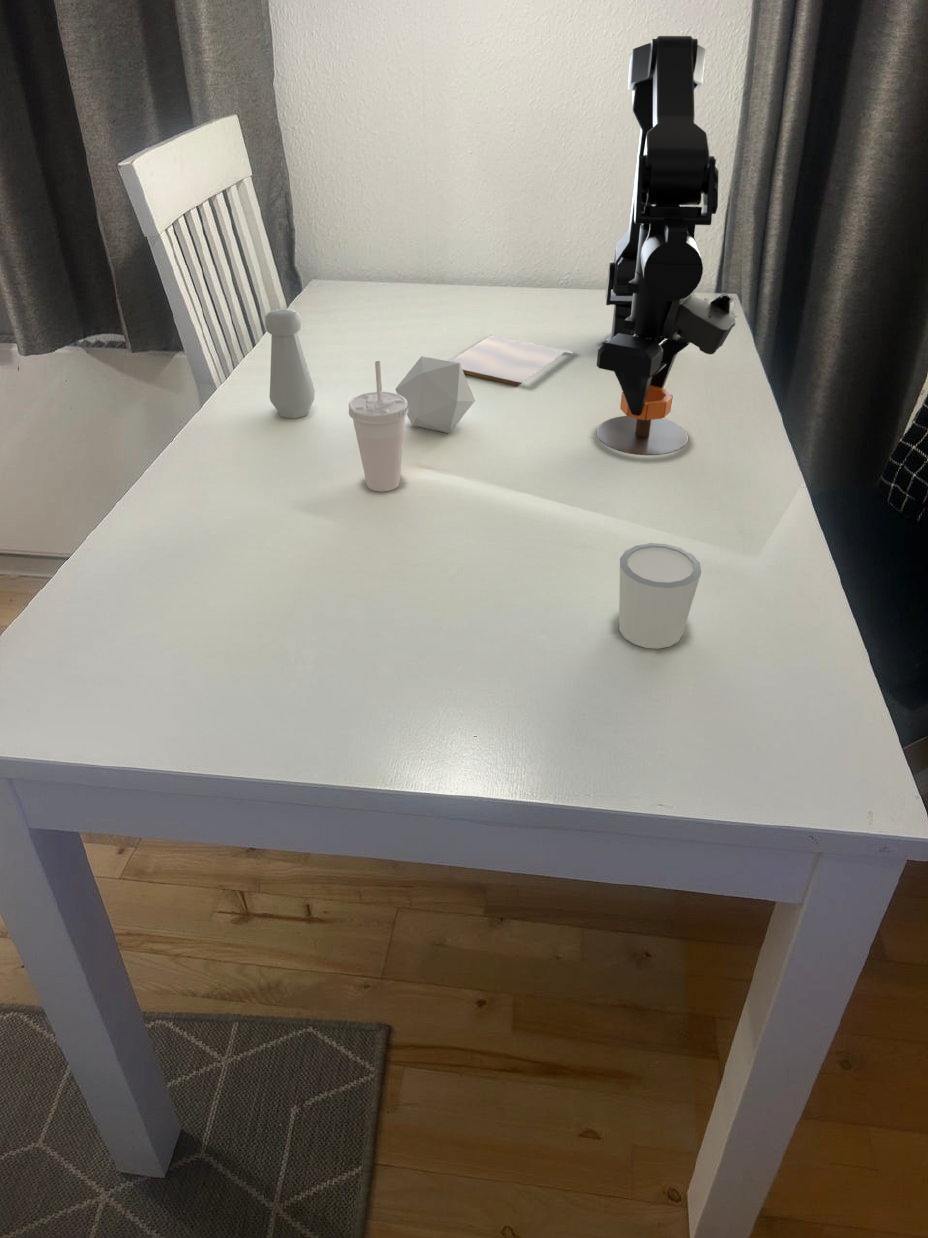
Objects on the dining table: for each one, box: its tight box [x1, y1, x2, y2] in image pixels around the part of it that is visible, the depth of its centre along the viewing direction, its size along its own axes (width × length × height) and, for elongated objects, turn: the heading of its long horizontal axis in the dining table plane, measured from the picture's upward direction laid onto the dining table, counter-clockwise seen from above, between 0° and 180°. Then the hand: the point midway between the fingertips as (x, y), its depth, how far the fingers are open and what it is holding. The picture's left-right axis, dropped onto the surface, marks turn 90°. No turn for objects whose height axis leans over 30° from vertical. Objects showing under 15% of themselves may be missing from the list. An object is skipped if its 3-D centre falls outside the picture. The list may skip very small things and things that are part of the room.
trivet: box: [449, 334, 575, 387], centre depth 132 cm, size 14×14×1 cm
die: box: [395, 356, 476, 434], centre depth 113 cm, size 8×9×10 cm
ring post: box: [596, 415, 689, 456], centre depth 110 cm, size 11×11×4 cm
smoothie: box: [348, 360, 408, 493], centre depth 99 cm, size 6×6×14 cm
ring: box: [619, 385, 674, 420], centre depth 108 cm, size 6×6×2 cm
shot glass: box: [618, 542, 702, 650], centre depth 79 cm, size 7×7×7 cm
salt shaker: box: [264, 308, 316, 420], centre depth 115 cm, size 6×6×13 cm
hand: (645, 405), depth 109 cm, fingers closed on ring, 5 cm apart
